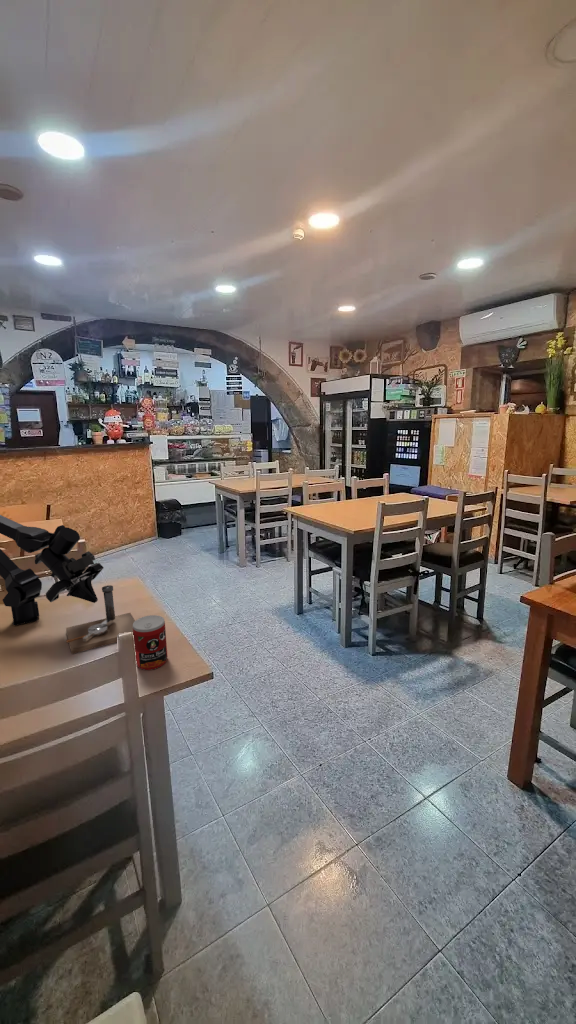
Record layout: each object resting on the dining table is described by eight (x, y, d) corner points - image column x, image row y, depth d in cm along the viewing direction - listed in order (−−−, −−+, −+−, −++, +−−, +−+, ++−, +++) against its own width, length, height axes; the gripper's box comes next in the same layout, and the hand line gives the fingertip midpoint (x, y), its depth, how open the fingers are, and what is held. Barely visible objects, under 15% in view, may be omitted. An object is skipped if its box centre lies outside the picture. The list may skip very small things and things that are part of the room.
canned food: (138, 674, 101) (134, 632, 99) (134, 658, 108) (130, 618, 106) (170, 665, 104) (167, 625, 102) (164, 650, 111) (161, 612, 109)
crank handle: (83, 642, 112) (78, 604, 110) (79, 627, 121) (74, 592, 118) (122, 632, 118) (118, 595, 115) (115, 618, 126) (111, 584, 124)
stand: (68, 654, 110) (68, 649, 109) (64, 633, 121) (63, 627, 121) (141, 635, 119) (141, 629, 119) (130, 616, 131) (130, 611, 131)
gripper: (48, 556, 111) (89, 597, 111) (94, 537, 129) (130, 573, 129) (28, 582, 115) (68, 622, 115) (76, 560, 133) (110, 595, 132)
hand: (96, 601), depth 123 cm, fingers closed
